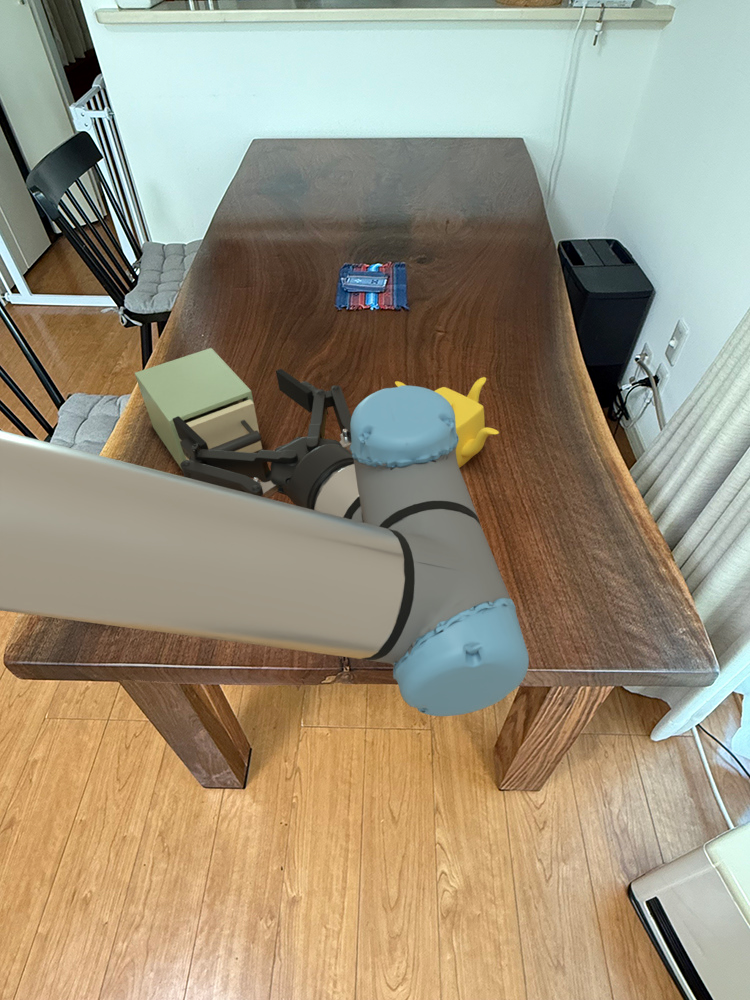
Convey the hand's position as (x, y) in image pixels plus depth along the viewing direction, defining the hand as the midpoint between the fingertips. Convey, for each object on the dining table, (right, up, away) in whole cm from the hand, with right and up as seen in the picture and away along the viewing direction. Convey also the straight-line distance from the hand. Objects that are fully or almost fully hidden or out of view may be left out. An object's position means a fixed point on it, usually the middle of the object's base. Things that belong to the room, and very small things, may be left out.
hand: (231, 402), depth 70 cm
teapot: (+27, -4, +24) cm, 36 cm away
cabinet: (-10, -1, +27) cm, 29 cm away
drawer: (-8, -3, +23) cm, 25 cm away
